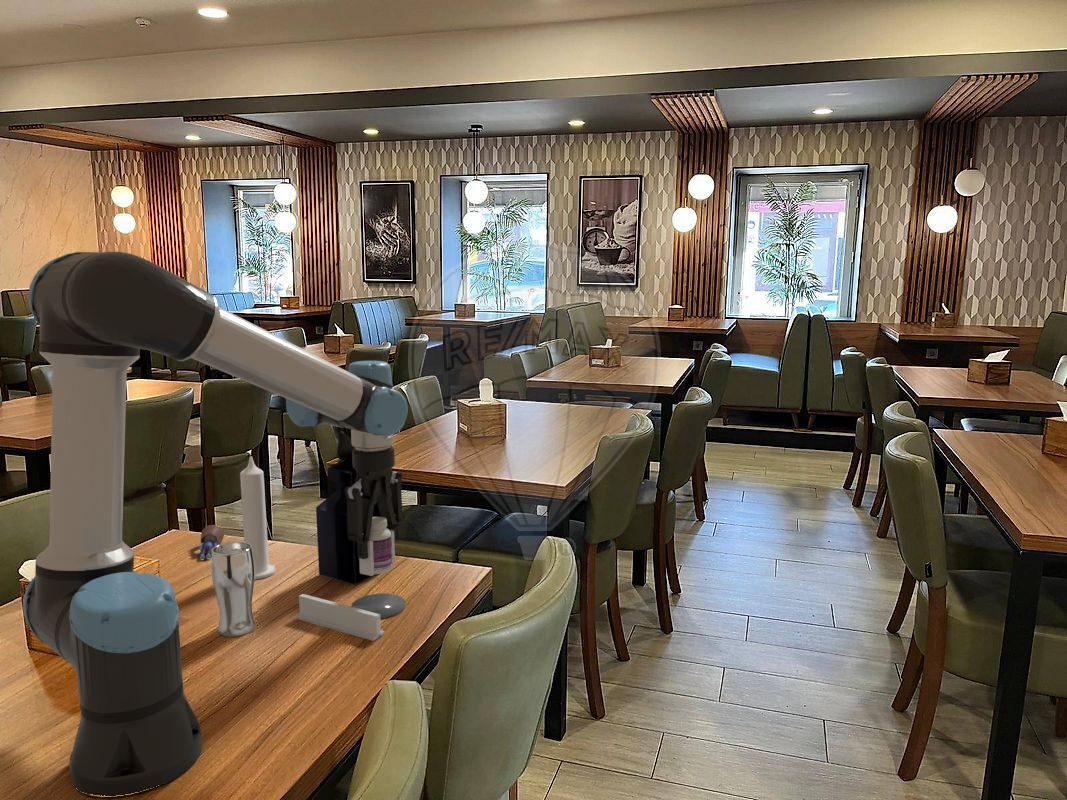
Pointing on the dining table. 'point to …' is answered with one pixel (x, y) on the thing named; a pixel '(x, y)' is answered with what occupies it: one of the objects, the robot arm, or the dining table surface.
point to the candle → (255, 518)
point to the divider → (340, 617)
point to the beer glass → (234, 587)
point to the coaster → (381, 604)
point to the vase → (339, 519)
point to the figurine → (209, 540)
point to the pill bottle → (381, 545)
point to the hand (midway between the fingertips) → (377, 568)
